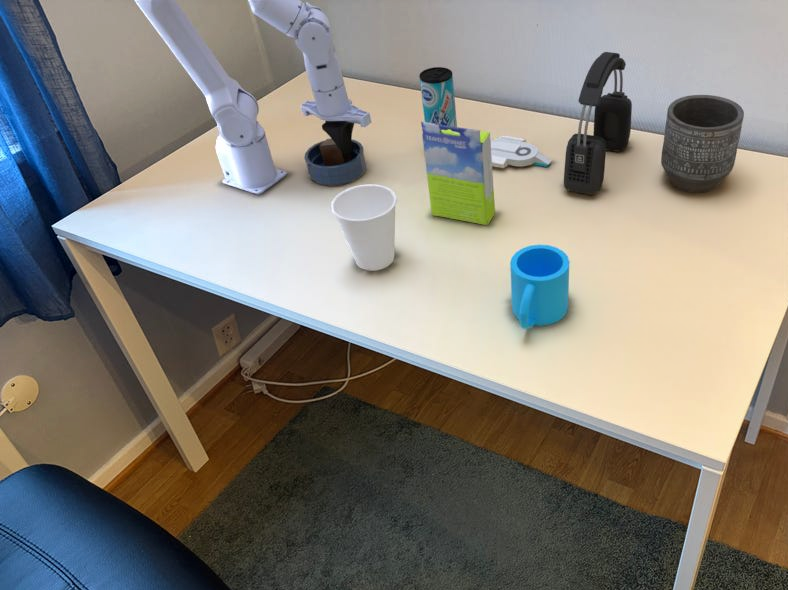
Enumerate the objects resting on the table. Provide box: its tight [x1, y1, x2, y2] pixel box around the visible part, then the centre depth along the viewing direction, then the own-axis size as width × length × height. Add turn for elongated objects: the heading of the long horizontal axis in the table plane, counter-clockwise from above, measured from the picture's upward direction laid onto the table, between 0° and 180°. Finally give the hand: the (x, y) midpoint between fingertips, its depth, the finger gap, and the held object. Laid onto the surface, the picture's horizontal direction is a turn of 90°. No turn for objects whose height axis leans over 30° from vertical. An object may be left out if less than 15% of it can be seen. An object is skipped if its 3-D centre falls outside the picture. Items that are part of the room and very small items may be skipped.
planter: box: [660, 94, 745, 194], centre depth 124 cm, size 12×12×13 cm
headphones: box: [563, 51, 633, 196], centre depth 126 cm, size 22×6×20 cm, turn 155°
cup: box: [330, 183, 398, 272], centre depth 113 cm, size 10×10×11 cm
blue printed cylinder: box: [418, 66, 458, 127], centre depth 135 cm, size 6×6×15 cm
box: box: [420, 121, 496, 226], centre depth 119 cm, size 10×4×17 cm, turn 68°
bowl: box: [304, 138, 367, 187], centre depth 136 cm, size 11×11×4 cm
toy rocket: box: [490, 135, 552, 169], centre depth 136 cm, size 16×10×2 cm, turn 63°
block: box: [320, 137, 351, 166], centre depth 137 cm, size 4×4×4 cm
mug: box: [509, 244, 570, 330], centre depth 103 cm, size 12×8×8 cm
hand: (346, 155), depth 136 cm, fingers closed, pressing on block
